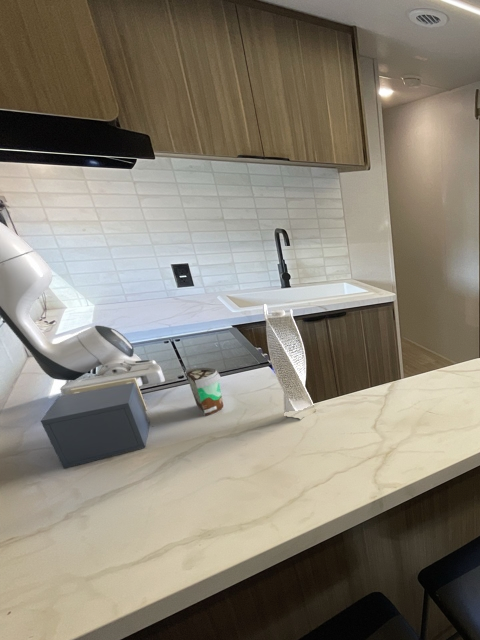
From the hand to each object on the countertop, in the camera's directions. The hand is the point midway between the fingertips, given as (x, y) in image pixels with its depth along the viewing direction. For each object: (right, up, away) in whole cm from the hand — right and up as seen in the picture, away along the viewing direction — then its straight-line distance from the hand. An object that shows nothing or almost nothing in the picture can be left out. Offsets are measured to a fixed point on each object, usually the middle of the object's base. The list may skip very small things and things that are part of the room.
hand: (111, 390), depth 102 cm
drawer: (+5, -8, -4) cm, 10 cm away
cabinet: (+12, -11, -12) cm, 21 cm away
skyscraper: (+48, -6, 0) cm, 48 cm away
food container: (+23, -5, +5) cm, 24 cm away
